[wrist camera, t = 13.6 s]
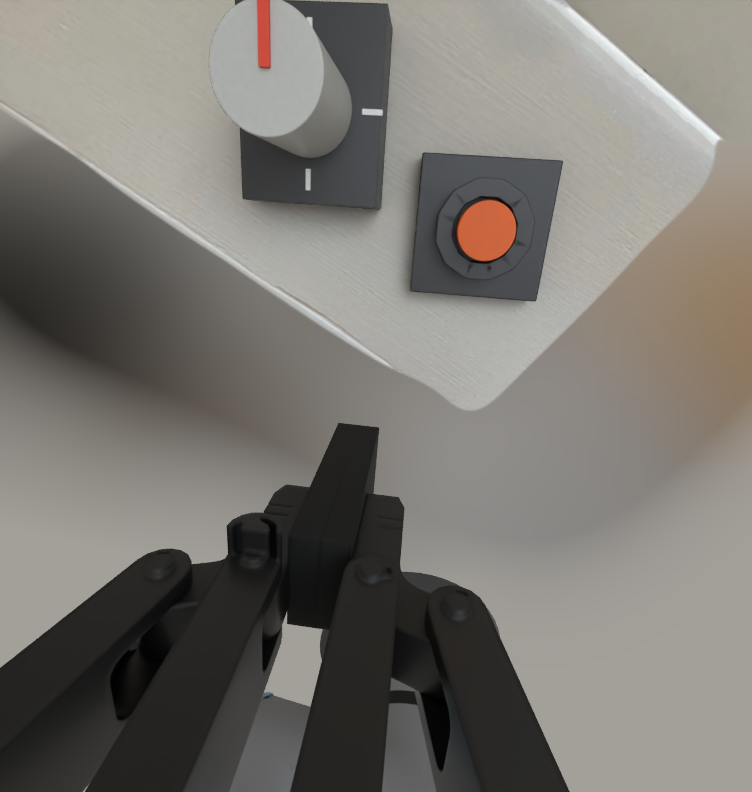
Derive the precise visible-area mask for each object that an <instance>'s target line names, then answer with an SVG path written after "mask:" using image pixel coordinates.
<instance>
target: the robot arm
mask: <svg viewBox="0 0 752 792" xmlns="http://www.w3.org/2000/svg"><path fill="white" fill-rule="evenodd" d="M378 434H379V428H378V427H369V426H360V425H352V424H343V423H338V426H337V428H336V430H335V432H334V435H333V437H332V439H331V441H330V444H329V446H328V448H327V450H326V452H325V455H324V457H323V459H322V461H321V464H320V466H319V468H318V470H317V472H316V475H315V477H314V479H313V482H312V484H311V486H310V487H302V486H294V485H285V486H283V487H282V488H281V489H279V490H278V491H276V492H275V493H274V495H273V496H272V498H271V500H270V502H269V505H268V506H267V507H266V509H265V510H264V513H249V514H245V515H241V516H240V517H237V518H235V519H233V520H232V521H231V522H230V523H229V524H228V525H227V541H228V555H227V557H226V558H225V559H223V560H221V561H216V562H210V563H200V564H191V560H190V557H189V556H188V554H186V553H185V552H183V551H181V550H176V549H161V550H157V551H154V552H151V553H148V554H146V555H144V556H143V557H141V558H139V559H138V560H137V561H135V562H134V563H133V564H132V565H130V566H129V567H128V568H127V569H125V570H124V571H123V572H121V573H120V574H119V575H117V577H115V578H114V579H113V580H111V581H110V582H109V583H107V584H106V585H105V586H104V587H102V588H101V589H100V590H98V591H97V592H96V593H95V594H93V595H92V596H91V597H90V598H88V599H87V600H86V601H85V602H83V603H82V604H81V605H80V606H78V607H77V608H76V609H74V610H73V611H72V612H71V613H69V614H68V615H67V616H66V617H64V618H63V619H62V620H60V621H59V622H58V623H57V624H55V625H54V626H53V627H52V628H51V629H49V630H48V631H47V632H45V633H44V634H43V635H41V636H40V637H39V638H38V639H36V640H35V641H34V642H33V643H31V644H30V645H29V646H27V647H26V648H25V649H24V650H22V651H21V652H20V653H19V654H17V655H16V656H15V657H14V658H13V659H11V660H10V661H9V662H7V663H6V664H5V665H3V666H2V667H1V668H0V792H83V791H84V789H85V788H86V787H87V786H88V785H89V786H88V788H87V789H86V791H85V792H569V790H568V787H567V785H566V783H565V781H564V779H563V777H562V774H561V772H560V770H559V767H558V765H557V763H556V761H555V759H554V756H553V754H552V752H551V750H550V747H549V745H548V743H547V741H546V739H545V737H544V735H543V732H542V730H541V727H540V725H539V723H538V721H537V719H536V717H535V714H534V712H533V710H532V708H531V705H530V703H529V701H528V699H527V696H526V694H525V692H524V690H523V688H522V686H521V683H520V681H519V679H518V676H517V674H516V672H515V670H514V668H513V665H512V663H511V661H510V659H509V656H508V654H507V652H506V650H505V648H504V646H503V643H502V641H501V639H500V637H499V634H498V632H497V630H496V628H495V625H494V623H493V621H492V619H491V617H490V614H489V612H488V610H487V608H486V606H485V604H484V603H483V602H482V600H481V599H480V597H478V596H477V595H476V594H474V593H473V592H472V591H470V590H468V589H465V588H463V587H460V586H451V585H448V586H443V587H439V588H437V589H436V590H434V591H433V592H431V594H430V593H428V592H425V591H423V590H421V589H419V588H417V587H415V586H413V585H412V584H411V583H410V582H408V581H407V580H406V578H405V577H404V576H403V574H402V572H401V569H400V556H401V544H402V531H403V519H404V506H403V504H402V503H401V501H400V499H399V497H392V496H384V495H376V494H373V492H374V481H375V469H376V458H377V446H378ZM286 612H287V624H292V625H299V626H306V627H312V628H319V629H326V630H329V634H328V638H327V642H326V646H325V651H324V655H323V659H322V663H321V667H320V671H319V675H318V679H317V683H316V687H315V692H314V696H313V700H312V704H311V707H309V706H306V705H302V704H299V703H296V702H293V701H290V700H286V699H283V698H280V697H277V696H274V695H273V694H272V693H270V692H266V693H264V690H265V687H266V684H267V682H268V679H269V676H270V673H271V670H272V667H273V664H274V661H275V658H276V656H277V653H278V650H279V647H280V644H281V638H282V623H283V621H284V618H285V615H286ZM89 783H90V784H89Z"/></svg>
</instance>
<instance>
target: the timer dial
mask: <svg viewBox="0 0 752 792" xmlns="http://www.w3.org/2000/svg"><path fill="white" fill-rule="evenodd" d="M209 71H210V79H211V83H212V87H213V90H214V93H215V96H216V98H217V100H218V102H219V104H220V106H221V107H222V109H223V110H224V112H225V113H226V114H227V116H228V117H229V118H230V119H231V120H232V121H233V122H234V123H235V124H236V125H237V126H239V127H240V128H242V129H243V130H245V131H246V132H249V133H251V134H253V135H255V136H257V137H259V138H261V139H263V140H265V141H268V142H270V143H272V144H274V145H276V146H278V147H280V148H282V149H284V150H287V151H289V152H291V153H293V154H295V155H297V156H301V157H306V158H315V157H320V156H323V155H326V154H328V153H329V152H331V151H332V150H334V149H335V148H336V147H337V146H338V145H339V144H340V143H341V142H342V140H343V139H344V137H345V135H346V133H347V131H348V128H349V125H350V121H351V115H352V102H351V96H350V92H349V89H348V86H347V84H346V82H345V80H344V78H343V77H342V75H341V73H340V72H339V70H338V68H337V67H336V65H335V64H334V62H333V60H332V59H331V57H330V55H329V54H328V52H327V50H326V49H325V47H324V46H323V44H322V42H321V41H320V39H319V37H318V36H317V34H316V33H315V31H314V29H313V28H312V26H311V25H310V23H309V22H308V20H307V19H306V18H305V17H304V16H303V14H302V13H300V12H299V11H298V10H297V9H296V8H295V7H293V6H292V5H290V4H289V3H287V2H285V1H282V0H244V1H242V2H240V3H238V4H237V5H235V6H234V7H233V8H231V9H230V10H229V11H228V12H227V13H226V14H225V16H224V17H223V18H222V20H221V21H220V23H219V24H218V26H217V28H216V30H215V33H214V36H213V38H212V42H211V46H210V53H209Z"/></svg>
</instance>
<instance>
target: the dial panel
mask: <svg viewBox="0 0 752 792" xmlns="http://www.w3.org/2000/svg"><path fill="white" fill-rule="evenodd" d="M242 1H244V0H235V5H237V4H238V3H240V2H242ZM282 1H285V2H287V3H289V4H290V5H292V6H293V7H295V8H296V9H297V10H298V11H299V12H300V13H302V14H303V16H304V17H305V18H306V19H307V20H308V22H309V23H310V25H311V26H312V28H313V29H314V31H315V33H316V34H317V36H318V37H319V39H320V41H321V42H322V44H323V46H324V47H325V49H326V50H327V52H328V54H329V55H330V57H331V59H332V60H333V62H334V64H335V65H336V67H337V68H338V70H339V72H340V73H341V75H342V77H343V78H344V80H345V82H346V84H347V86H348V89H349V92H350V96H351V102H352V115H351V121H350V125H349V128H348V131H347V133H346V135H345V137H344V139H343V140H342V142H341V143H340V144H339V145H338V146H337V147H336V148H335V149H334V150H332V151H331V152H329V153H328V154H326V155H323V156H320V157H315V158H306V157H301V156H297V155H295V154H293V153H291V152H289V151H287V150H284V149H282V148H280V147H278V146H276V145H274V144H272V143H270V142H268V141H265V140H263V139H261V138H259V137H257V136H255V135H253V134H251V133H249V132H246V131H245V130H243V129H242V128H240V143H241V168H242V194H243V199H246V200H256V201H268V202H282V203H297V204H311V205H326V206H341V207H355V208H370V209H381V200H382V185H383V169H384V153H385V138H386V122H387V106H388V90H389V75H390V59H391V43H392V24H391V18H390V13H389V8H388V4H381V3H352V2H322V1H293V0H282Z"/></svg>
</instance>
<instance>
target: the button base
mask: <svg viewBox="0 0 752 792" xmlns="http://www.w3.org/2000/svg"><path fill="white" fill-rule="evenodd" d="M562 164H563V161H560V160H543V159H526V158H509V157H492V156H475V155H458V154H441V153H423V156H422V167H421V178H420V189H419V200H418V211H417V222H416V233H415V244H414V255H413V266H412V277H411V288H410V291H414V292H426V293H438V294H450V295H462V296H474V297H487V298H499V299H511V300H523V301H536V299H537V294H538V289H539V284H540V278H541V273H542V268H543V263H544V258H545V252H546V247H547V242H548V237H549V232H550V226H551V221H552V216H553V211H554V206H555V201H556V195H557V190H558V185H559V180H560V175H561V169H562ZM484 200H494V201H498V202H501V203H503V204H504V205H506V206H507V207H508V208H509V209H510V210H511V212H512V213H513V215H514V218H515V221H516V235H515V238H514V241H513V243H512V245H511V247H510V248H509V249H508V250H507V252H505V253H504V254H503V255H502V256H500V257H498V258H496V259H494V260H490V261H479V260H475V259H473V258H471V257H470V256H468V255H467V254H466V253H465V252H464V251H463V250H462V249H461V247H460V246H459V244H458V241H457V236H456V229H457V224H458V221H459V219H460V217H461V215H462V214H463V212H464V211H465V210H466V209H467V208H468V207H470V206H471V205H473V204H475V203H477V202H480V201H484Z"/></svg>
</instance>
